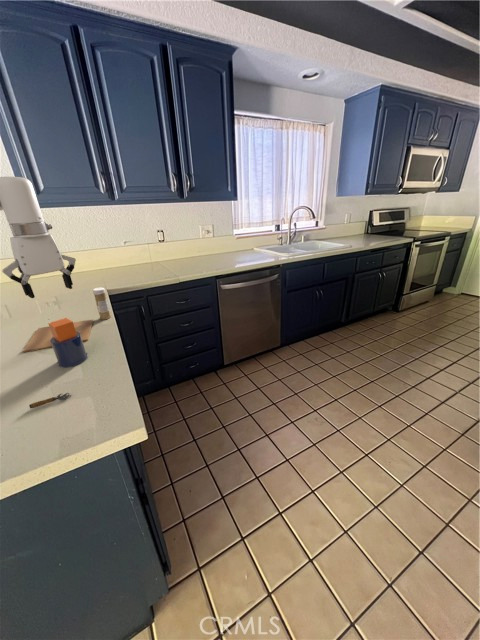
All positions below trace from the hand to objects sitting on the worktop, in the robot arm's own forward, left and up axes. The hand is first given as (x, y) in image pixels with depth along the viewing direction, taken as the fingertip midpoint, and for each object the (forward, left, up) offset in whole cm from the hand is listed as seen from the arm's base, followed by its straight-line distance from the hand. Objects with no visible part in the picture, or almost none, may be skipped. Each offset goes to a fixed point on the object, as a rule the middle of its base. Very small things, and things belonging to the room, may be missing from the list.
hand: (51, 292), depth 76 cm
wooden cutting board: (-7, +23, -23) cm, 33 cm away
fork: (-2, -21, -22) cm, 31 cm away
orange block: (0, 0, -15) cm, 15 cm away
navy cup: (0, 0, -23) cm, 23 cm away
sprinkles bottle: (+8, +34, -23) cm, 42 cm away
